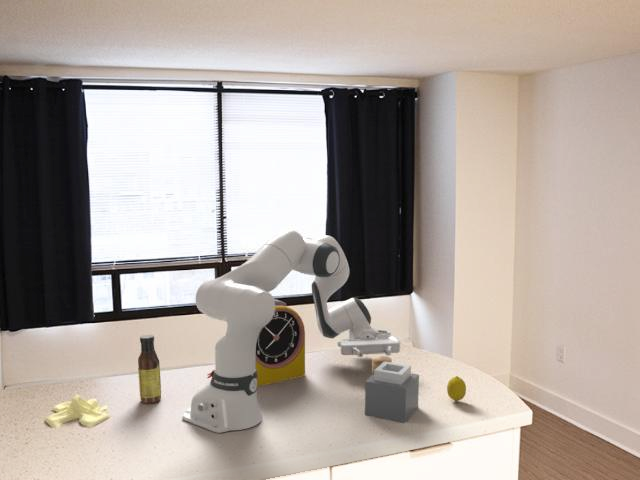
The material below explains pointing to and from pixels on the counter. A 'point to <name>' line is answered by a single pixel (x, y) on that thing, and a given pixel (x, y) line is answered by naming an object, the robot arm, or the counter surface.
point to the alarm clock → (281, 347)
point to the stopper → (379, 361)
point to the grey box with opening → (392, 392)
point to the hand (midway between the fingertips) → (374, 353)
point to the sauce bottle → (149, 371)
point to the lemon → (456, 388)
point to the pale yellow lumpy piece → (78, 412)
